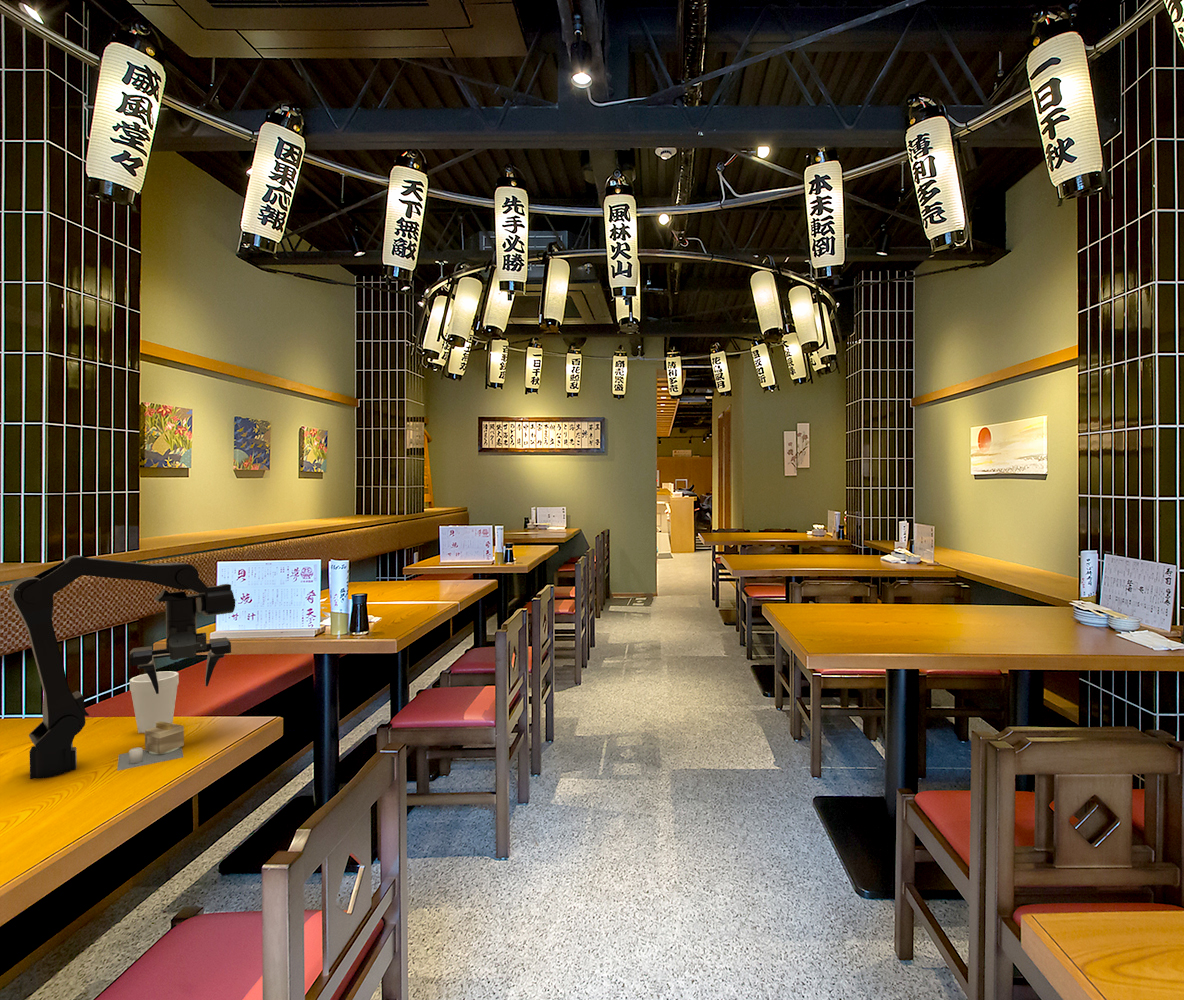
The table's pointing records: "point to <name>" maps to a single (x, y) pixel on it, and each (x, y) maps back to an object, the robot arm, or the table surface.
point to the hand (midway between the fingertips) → (182, 689)
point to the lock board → (146, 757)
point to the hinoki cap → (164, 737)
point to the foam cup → (154, 699)
